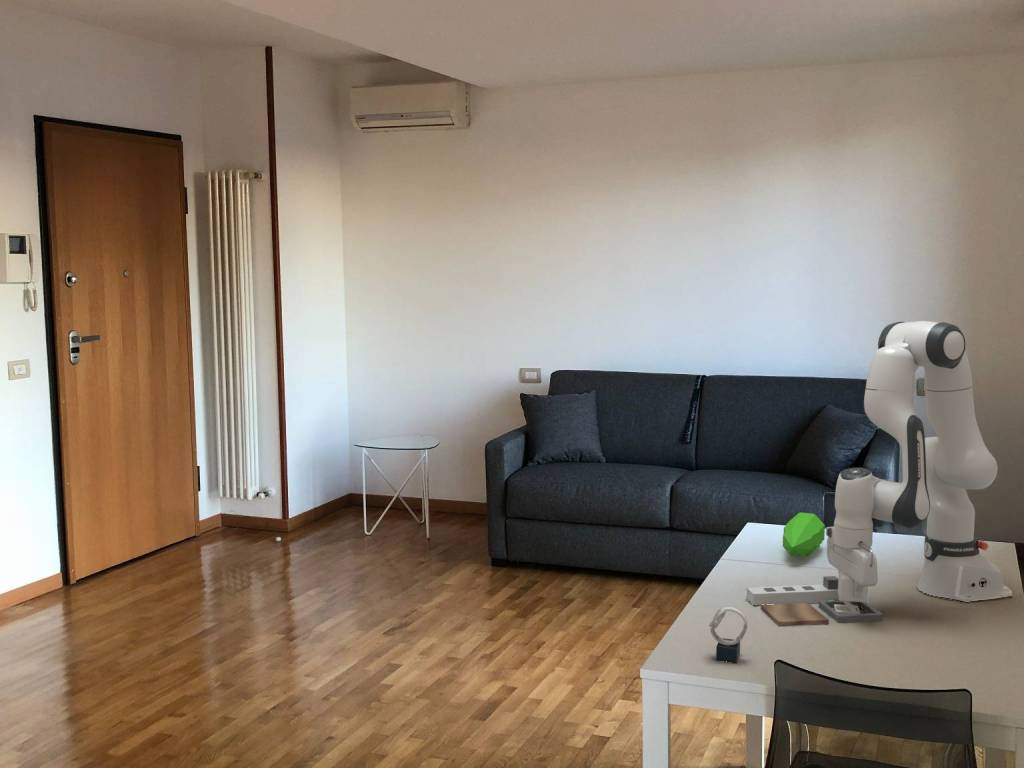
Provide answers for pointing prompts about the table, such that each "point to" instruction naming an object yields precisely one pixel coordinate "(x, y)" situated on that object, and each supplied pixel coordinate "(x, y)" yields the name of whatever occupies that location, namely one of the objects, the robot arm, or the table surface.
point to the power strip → (795, 593)
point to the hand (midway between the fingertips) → (850, 593)
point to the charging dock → (872, 615)
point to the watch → (727, 647)
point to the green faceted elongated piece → (803, 534)
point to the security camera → (848, 595)
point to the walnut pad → (794, 614)
